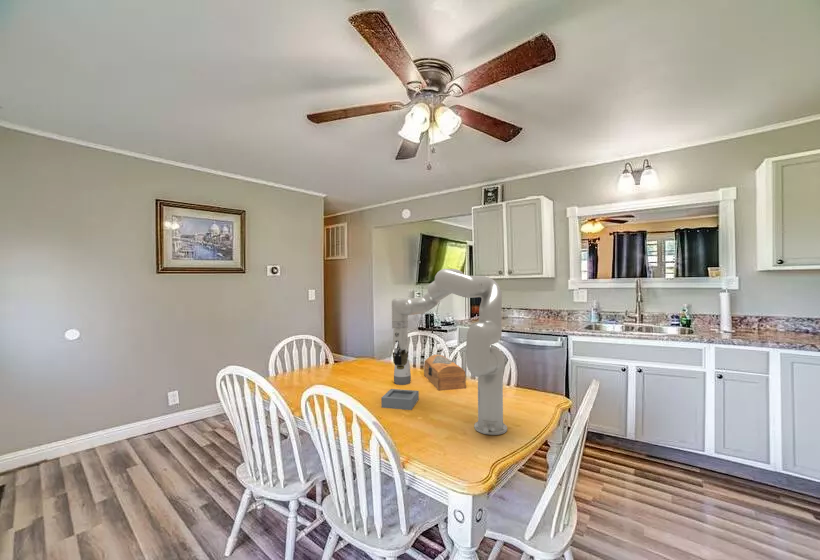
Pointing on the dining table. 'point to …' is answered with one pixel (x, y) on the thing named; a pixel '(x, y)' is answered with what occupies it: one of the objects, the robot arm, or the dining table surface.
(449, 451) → the dining table surface
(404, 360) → the cup
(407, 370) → the smart speaker
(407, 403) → the grey square tray
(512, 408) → the dining table surface
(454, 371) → the wooden box
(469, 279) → the robot arm
